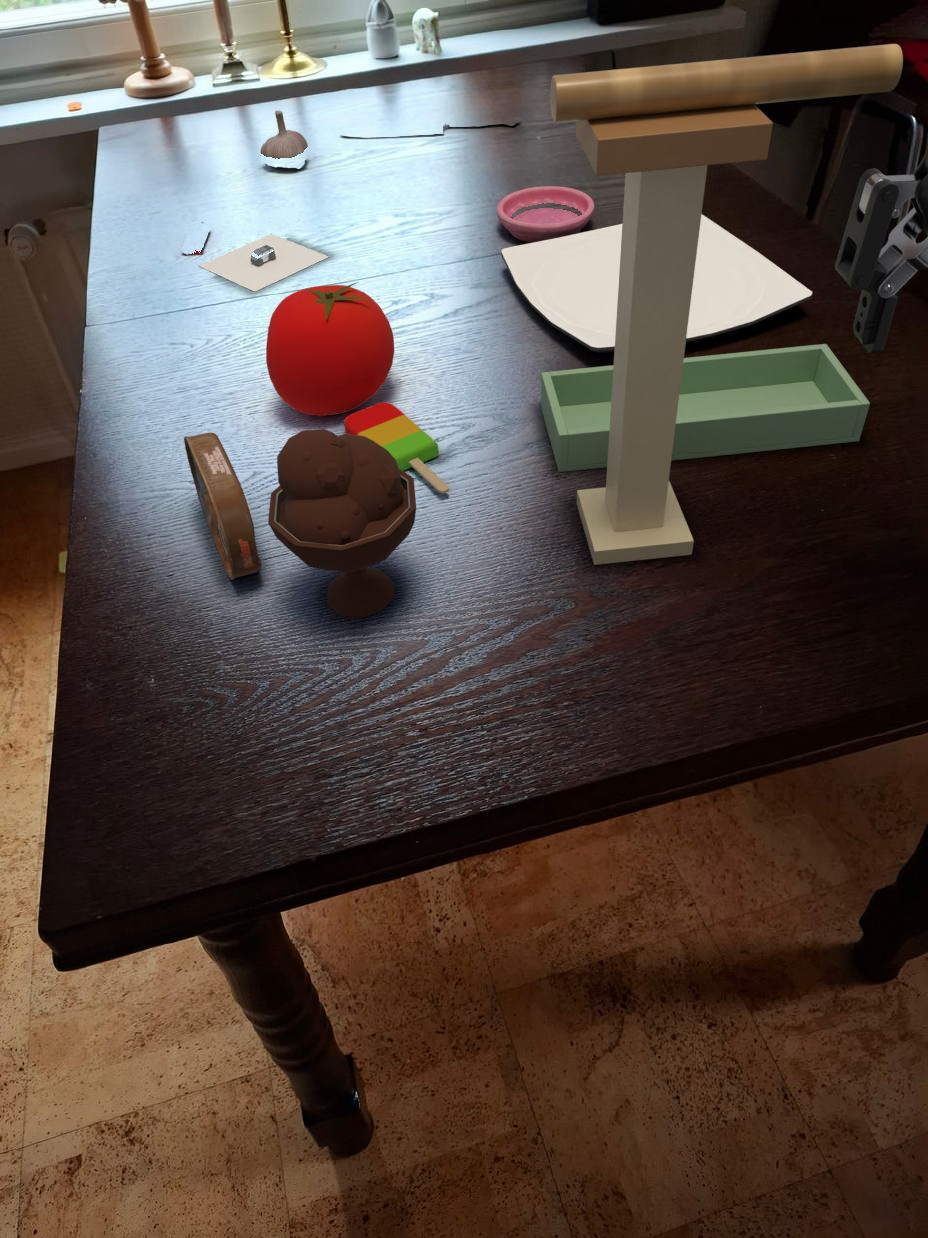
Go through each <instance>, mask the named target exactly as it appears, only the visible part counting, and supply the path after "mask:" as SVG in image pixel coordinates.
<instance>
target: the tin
mask: <svg viewBox="0 0 928 1238" xmlns="http://www.w3.org/2000/svg"><path fill="white" fill-rule="evenodd" d="M183 443H184V447H185V448H184V449H185V453H186V458H187V461H188V464H189V469H190V473H191V477H192V479H193V483H194V487H195V491H196V495H197V498H198V502H199V504H200V508H201V510H202V513H203V517H204V519H205V522H206V524H207V527H208V529H209V533H210V534H211V537H212V539H213V542H214V544H215V546H216V549H217V552H218V556H219V557H220V559H221V562H222V564H223V567H224V570H225V572H226V574H227V577H228V578H229V579H230V580H235V579H236V578H240V577H245V576H246V575H251V574H255V573H257V572H259V571H260V570H261V569H262V560H261V558H260V556H259V552H258V547H257V543H256V537H255V535H256V533H255V526H254V521H253V517H252V514H251V511H250V507H249V503H248V501H247V498H246V495H245V493H244V489H243V487H242V484H241V482H240V480H239V477H238V475H237V474H236V471H235V469H234V467H233V465H232V462H231V460H230V459H229V456H228V454H227V452H226V449H225V448H224V446H223V444H222V442H221V440H220V438H219V436H218V434H216V432H215V433H214V432H205V433H200V434H196V435H190V436H187V435H186V436H184V437H183Z"/></svg>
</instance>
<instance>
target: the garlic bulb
mask: <svg viewBox="0 0 928 1238" xmlns="http://www.w3.org/2000/svg"><path fill="white" fill-rule="evenodd" d="M274 114H275V119H276V125H277V128H278V129H277V130H278V133H277V134H276V135H274V136H271V137H269V138H267V140H266V141H265V142H264V143H263V144H262V146H261V147H260V153H261V154H263V155H264V156H266V157H272V158H275V159H276V158H278V159H280V158H292V157H295V156H297V155H298V154H301V153H303V152H304V150H305V149H306V148H307V147H308V148H309V143H308V142H307V139H306V138H305V137H304V135H303V134H301V133H300V132H298V131H296V130H291V129H287V128H286V123H285V118H284V113H283V111H282V110H279V109H278V110H275V111H274Z"/></svg>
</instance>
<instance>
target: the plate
mask: <svg viewBox="0 0 928 1238" xmlns="http://www.w3.org/2000/svg"><path fill="white" fill-rule="evenodd" d="M622 224H623V223H620V224H616V225H611V226H607V227H606V226H605V227H601V228H596V229H593V230H588V231H583V232H579V233H578V234H573V235H569V236H564V237H560V238H555V239H549V240H544V241H539V242H534V243H531V242H528V243H524V244H520V245H514V246H508V247H504V248H502V249H501V250H500V256H501V258H502V260H503V262H504V264H505V266H506V268H507V271H508V272H509V274H510V276H511V278H512V280H513V283H514V284H515V286H516V287H515V288H517V290H518V291H519V292H520V293H521V295H522V296H523V298H524V299H525V300H526V301H527V303H528V304H529V305H530V307H532V309H534V310H535V311H536V312H537V314H539V315H540V316H541V317H542V318H543V319H544V320H545V321H546V322H547V323H548V324H550V325H551V326H552V327H553V328H555V329H556V330H557V331H559V332H561V333H562V334H564V335H566V336H568V337H569V338H570V339H573V340H574V341H575V342H577V343H579V344H580V345H582V346H583V347H585V348H587V349H588V350H590V351H592V352H594V353H600V354H606V353H607V354H608V353H614V351H615V335H616V319H617V303H618V287H619V271H620V255H621V240H622ZM812 297H813V291H812V290H810V289H809V288H808V287H806V286H805V285H804V284H802V283H801V282H800V281H798V280H797V279H795V278H794V277H793V276H791V275H790V274H789V273H787V272H786V271H785V270H783V269H782V268H780V267H779V266H777V264H775V263H774V262H772V261H771V260H769V258H767V257H766V256H764V255H763V254H761V253H760V252H759V251H758V250H755V249H754V248H753V247H751V246H750V245H748V244H747V243H745V242H744V241H743V240H741V239H740V238H738V237H736V236H735V235H733V234H732V233H730V232H729V231H728V230H727V229H724V228H723V227H721V226H720V225H719V224H717V223H716V222H714V221H713V220H711V218H708V217H707V216H706V215H704V214H703V213H702V214H701V222H700V230H699V239H698V247H697V255H696V263H695V271H694V279H693V287H692V295H691V304H690V312H689V320H688V328H687V336H686V343H691V342H696V341H699V340H705V339H709V338H713V337H716V336H720V335H723V334H728V333H730V332H734V331H738V330H741V329H745V328H747V327H750V326H753V325H755V324H757V323H759V322H762V321H764V320H767V319H769V318H771V317H773V316H775V315H777V314H779V313H782V312H784V311H786V310H788V309H791V308H794V307H795V306H798V305H801V304H802V303H804V302H806V301H809V300H811V299H812Z"/></svg>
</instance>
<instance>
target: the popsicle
mask: <svg viewBox="0 0 928 1238" xmlns="http://www.w3.org/2000/svg"><path fill="white" fill-rule="evenodd" d="M343 424H344V430H345V434H349V435H359V436H365V437H367V438H369V439H371V440H373V441H374V442H376V443H377V444H379V445H380V446H382V447H383V448H385V449H386V450H388V451H389V453H390V454H391V455H392V456H393V457H394V458H395V460H396V462H397V465H398V468H399V469H401V470H402V471H406V470H408V469H411V468H413V470H415V471H416V472H417V473H418V474H419V475H420V476H421V477H422V478H423V479H425V480H426V482H428V483H429V485H431V486H432V487H433V488H434V489H435V490H436V491H437V492H438V493H439V494H447V493H448V492H449V491H450V486H449V485H448V484H447V483H446V482H445V481H444V480H442V478H441V477H439V476H438V475H437V474H436V473H435V472H434V471H433V470H432V469H431V468H430V467H428V465H427V464H425V463H424V462H427V461H429V460H432V459H434V458H436V457H438V456H439V445H438V442H436V441H435V439H433V438H432V437H431V436H429V434H427V433H426V432H425V431H424V430H423V429H422V428H421V427H419V426H418V425H417V424H416V423H415V422H414V421H412V420H411V419H410V418H409V417H408V416H407V415H406V414H404V412H402V411H401V410H400V409H399V407H397V406H396V405H394V404H393V403H390V402H386V401H384V402H379V403H375V404H372V405H370V406H367V407H365V408H363V409H360V410H358V411H355V412H353V413H351V414H349V415H348V416H346V417H345V419H344V420H343Z"/></svg>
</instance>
